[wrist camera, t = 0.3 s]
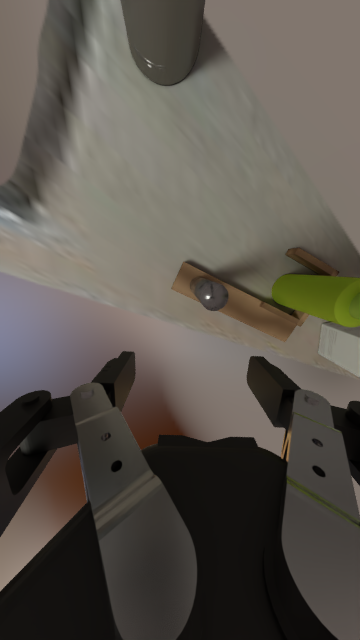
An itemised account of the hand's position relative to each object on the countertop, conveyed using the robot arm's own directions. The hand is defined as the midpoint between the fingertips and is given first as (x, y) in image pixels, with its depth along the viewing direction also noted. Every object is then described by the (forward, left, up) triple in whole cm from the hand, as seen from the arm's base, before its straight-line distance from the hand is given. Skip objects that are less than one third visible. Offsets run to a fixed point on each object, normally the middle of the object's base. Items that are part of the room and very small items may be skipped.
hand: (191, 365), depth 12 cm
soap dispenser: (-12, +17, -22) cm, 30 cm away
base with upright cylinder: (-10, +10, -21) cm, 25 cm away
